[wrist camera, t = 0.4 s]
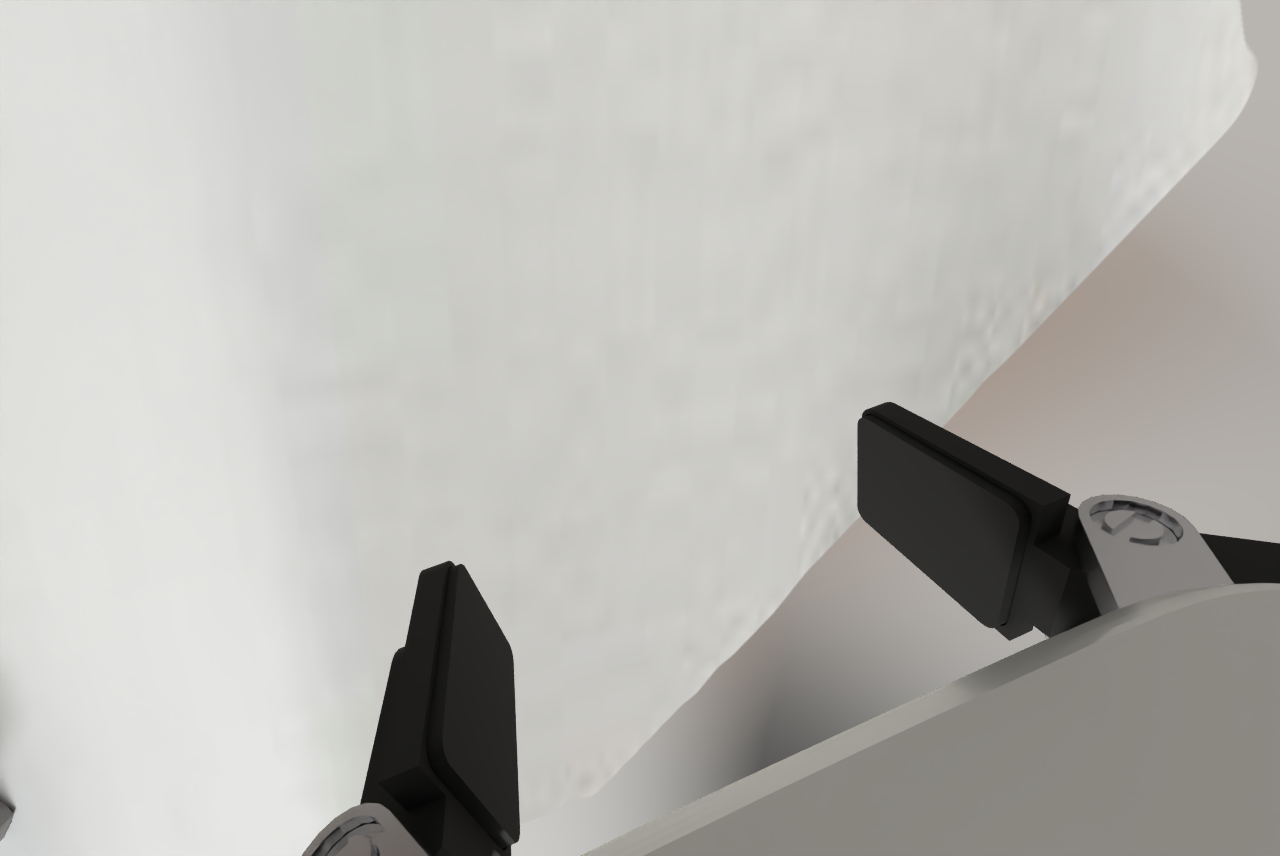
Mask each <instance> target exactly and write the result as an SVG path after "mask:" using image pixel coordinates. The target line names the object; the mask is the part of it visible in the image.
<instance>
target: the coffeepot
mask: <svg viewBox="0 0 1280 856" xmlns="http://www.w3.org/2000/svg"><path fill="white" fill-rule="evenodd" d="M12 817H13V813H12V811H11V810H10V809H9V808H8V806H7V805H5V804H4V803H3V802H1V801H0V841H1V840H2V839H3V838H4V836H5V834H6V831H7V829H8V828H9V826H10V824H11V822H12Z"/></svg>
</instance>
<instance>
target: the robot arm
mask: <svg viewBox="0 0 1280 856" xmlns="http://www.w3.org/2000/svg"><path fill="white" fill-rule="evenodd" d="M1069 498H1070V494H1069V493H1067V492H1065V491H1063V490H1061V489H1059V488H1057V487H1055V486H1053V485H1051V484H1050V483H1048V482H1046V481H1044V480H1042V479H1040V478H1038V477H1036V476H1034V475H1032V474H1030V473H1028V472H1026V471H1024V470H1022V469H1021V468H1019V467H1017V466H1014V465H1013V464H1011V463H1009V462H1007V461H1005V460H1003V459H1001V458H999V457H997V456H995V455H993V454H991V453H990V452H988V451H986V450H984V449H982V448H980V447H978V446H976V445H974V444H972V443H970V442H968V441H966V440H964V439H962V438H961V437H959V436H957V435H955V434H953V433H951V432H949V431H947V430H945V429H943V428H941V427H939V426H937V425H935V424H933V423H932V422H930V421H928V420H926V419H924V418H922V417H920V416H918V415H916V414H914V413H912V412H910V411H908V410H906V409H904V408H903V407H901V406H899V405H897V404H895V403H892V402H886V403H883V404H881V405H878V406H875V407H872V408H869V409H867V410H865V411H864V412H863V414H862V418H861V419H859V421H858V502H857V506H858V511H859V513H860V515H861V517H862V518H863V520H864V521H865V522H866V523H868V524H869V525H870V526H871V527H872V528H873V529H874V530H876V531H877V532H878V533H879V534H880V535H881V536H882V537H884V538H885V539H886V540H887V541H888V542H889V543H891V544H892V545H893V546H894V547H895V548H896V549H897V550H898V551H900V552H901V553H902V554H903V555H904V556H905V557H906V558H907V559H909V560H910V561H911V562H912V563H913V564H914V565H915V566H917V567H918V568H919V569H920V570H921V571H922V572H924V573H925V574H926V575H927V576H928V577H929V578H930V579H931V580H933V581H934V582H935V583H936V584H937V585H938V586H939V587H941V588H942V589H943V590H944V591H945V592H946V593H947V594H949V595H950V596H951V597H952V598H953V599H954V600H955V601H957V602H958V603H959V604H960V605H961V606H962V607H963V608H964V609H966V610H967V611H968V612H969V613H970V614H971V615H973V616H974V617H975V618H976V619H977V620H978V621H979V622H981V623H982V624H983V625H985V626H987V627H989V628H995V629H996V630H998V631H999V632H1000V633H1001V634H1002V635H1003V636H1004V637H1006V638H1007V639H1008V640H1009V641H1010V640H1012V639H1014V638H1017V637H1018V636H1021V635H1023V634H1025V633H1027V632H1029V631H1031V630H1032V629H1033V626H1035V627H1036V628H1038V629H1039V630H1040V631H1041V632H1043V633H1044V634H1045V637H1046V640H1044V641H1042V642H1040V643H1037V644H1035V645H1033V646H1031V647H1029V648H1026V649H1024V650H1022V651H1020V652H1018V653H1015V654H1013V655H1011V656H1009V657H1007V658H1004V659H1002V660H1000V661H998V662H996V663H993V664H991V665H989V666H987V667H984V668H982V669H980V670H978V671H976V672H974V673H971V674H969V675H967V676H965V677H963V678H960V679H958V680H956V681H954V682H951V683H949V684H947V685H945V686H943V687H940V688H938V689H936V690H934V691H932V692H929V693H928V694H925V695H923V696H921V697H919V698H917V699H914V700H912V701H910V702H908V703H906V704H903V705H901V706H899V707H897V708H895V709H892V710H890V711H888V712H886V713H884V714H882V715H879V716H877V717H875V718H873V719H871V720H869V721H866V722H864V723H862V724H860V725H858V726H855V727H853V728H851V729H849V730H847V731H845V732H842V733H840V734H838V735H836V736H834V737H832V738H830V739H827V740H825V741H823V742H821V743H819V744H817V745H814V746H812V747H810V748H808V749H806V750H804V751H801V752H799V753H797V754H795V755H793V756H791V757H788V758H786V759H784V760H782V761H780V762H777V763H775V764H773V765H771V766H769V767H767V768H765V769H762V770H760V771H759V772H756V773H754V774H752V775H750V776H747V777H745V778H743V779H741V780H739V781H737V782H735V783H733V784H730V785H728V786H726V787H724V788H722V789H720V790H718V791H715V792H713V793H711V794H709V795H707V796H705V797H703V798H700V799H699V800H696V801H694V802H692V803H690V804H688V805H685V806H683V807H681V808H679V809H677V810H675V811H673V812H671V813H668V814H666V815H664V816H662V817H660V818H658V819H656V820H653V821H652V822H649V823H647V824H645V825H643V826H641V827H638V828H636V829H634V830H632V831H630V832H628V833H626V834H624V835H622V836H620V837H618V838H616V839H614V840H612V841H610V842H608V843H606V844H604V845H602V846H600V847H598V848H596V849H594V850H592V851H589V852H587V853H585V854H583V855H581V856H1280V544H1279V543H1271V542H1263V541H1255V540H1248V539H1240V538H1232V537H1225V536H1216V535H1209V534H1201V533H1199V532H1198V531H1197V530H1196V528H1195V527H1194V526H1193V525H1192V524H1191V523H1190V522H1189V521H1188V520H1187V519H1186V518H1185V517H1184V516H1182V515H1181V514H1179V513H1177V512H1176V511H1174V510H1172V509H1170V508H1168V507H1166V506H1163V505H1161V504H1158V503H1156V502H1153V501H1149V500H1145V499H1142V498H1138V497H1132V496H1124V495H1101V496H1095V497H1091V498H1089V499H1087V500H1085V501H1083V502H1082V503H1081V505H1080V506H1079V508H1078V509H1077V508H1075V507H1073V506H1071V505H1069V504H1068V502H1069ZM519 835H520V818H519V792H518V766H517V740H516V714H515V688H514V662H513V654H512V650H511V647H510V645H509V643H508V641H507V639H506V637H505V636H504V634H503V632H502V630H501V629H500V627H499V625H498V623H497V622H496V620H495V618H494V616H493V615H492V613H491V611H490V609H489V608H488V606H487V604H486V602H485V601H484V599H483V597H482V596H481V594H480V592H479V590H478V589H477V587H476V585H475V583H474V582H473V580H472V578H471V576H470V575H469V573H468V571H467V569H466V568H465V566H464V565H463V564H459V565H457V566H455V565H454V563H452V562H451V561H447V562H444V563H442V564H439V565H436V566H433V567H430V568H428V569H425V570H423V571H421V573H420V575H419V580H418V585H417V590H416V595H415V600H414V605H413V610H412V615H411V620H410V625H409V630H408V635H407V640H406V645H405V647H403V648H400V649H398V651H397V652H396V653H395V655H394V658H393V660H392V664H391V669H390V673H389V678H388V682H387V687H386V691H385V696H384V700H383V705H382V709H381V714H380V718H379V722H378V727H377V731H376V736H375V740H374V745H373V749H372V754H371V758H370V763H369V767H368V772H367V776H366V781H365V785H364V790H363V794H362V799H361V803H360V805H358V806H355V807H352V808H350V809H349V810H347V811H345V812H344V813H342V814H341V815H339V816H338V817H336V818H335V819H334V820H333V821H331V822H330V823H329V824H328V825H327V826H326V827H325V828H324V829H323V830H322V831H321V832H320V833H319V834H318V835H317V836H316V838H315V839H314V840H313V841H312V843H311V844H310V845H309V846H308V848H307V849H306V850H305V852H304V853H303V855H302V856H511V845H512V844H514V843H516V842H518V840H519Z"/></svg>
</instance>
